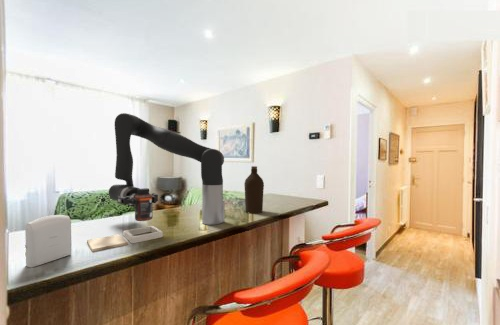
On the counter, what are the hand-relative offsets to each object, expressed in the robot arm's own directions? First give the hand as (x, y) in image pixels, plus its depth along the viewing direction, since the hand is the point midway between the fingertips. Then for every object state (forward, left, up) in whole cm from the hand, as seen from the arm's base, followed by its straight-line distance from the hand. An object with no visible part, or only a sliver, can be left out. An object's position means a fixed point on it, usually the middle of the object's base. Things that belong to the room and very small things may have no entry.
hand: (145, 201), depth 87 cm
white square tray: (0, -3, -13) cm, 14 cm away
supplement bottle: (0, -2, -7) cm, 8 cm away
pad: (+12, -3, -13) cm, 18 cm away
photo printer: (+27, +2, -14) cm, 30 cm away
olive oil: (-60, -9, -14) cm, 62 cm away
